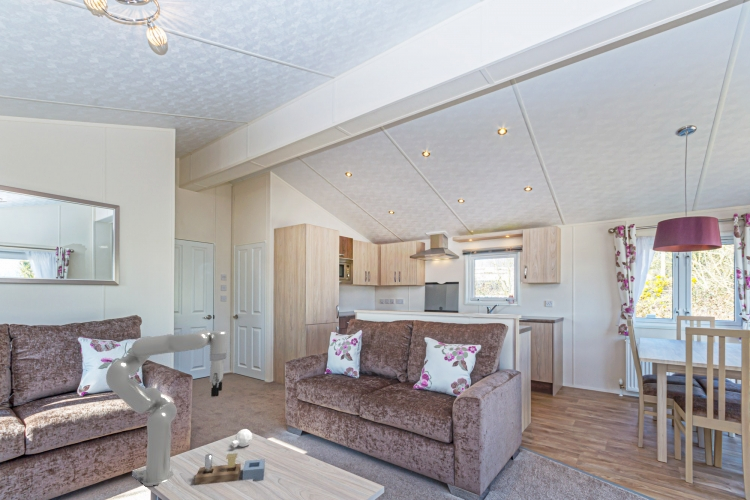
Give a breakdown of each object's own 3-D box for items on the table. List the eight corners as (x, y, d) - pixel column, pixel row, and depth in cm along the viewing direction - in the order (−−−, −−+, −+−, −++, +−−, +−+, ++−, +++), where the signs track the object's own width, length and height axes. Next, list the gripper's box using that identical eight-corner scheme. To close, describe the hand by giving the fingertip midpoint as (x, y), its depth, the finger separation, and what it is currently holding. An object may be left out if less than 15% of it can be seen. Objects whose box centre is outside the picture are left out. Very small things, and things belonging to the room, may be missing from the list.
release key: (225, 468, 176) (226, 457, 176) (227, 464, 179) (227, 454, 180) (236, 467, 177) (236, 456, 177) (237, 463, 180) (237, 453, 181)
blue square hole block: (242, 482, 174) (242, 470, 174) (244, 471, 184) (245, 460, 184) (263, 480, 176) (263, 468, 176) (264, 469, 186) (264, 459, 186)
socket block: (194, 487, 170) (195, 477, 170) (199, 476, 179) (199, 467, 180) (237, 482, 174) (238, 473, 174) (240, 472, 183) (240, 463, 184)
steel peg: (203, 480, 174) (204, 457, 175) (205, 477, 177) (205, 454, 178) (210, 479, 174) (211, 456, 175) (212, 476, 177) (212, 453, 178)
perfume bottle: (243, 437, 221) (226, 447, 210) (246, 423, 219) (229, 432, 209) (254, 444, 217) (237, 455, 206) (257, 430, 215) (240, 440, 205)
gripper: (213, 354, 194) (211, 389, 192) (206, 360, 177) (204, 399, 176) (228, 353, 196) (227, 388, 194) (223, 359, 179) (222, 398, 177)
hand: (216, 393), depth 185 cm, fingers open, 9 cm apart
